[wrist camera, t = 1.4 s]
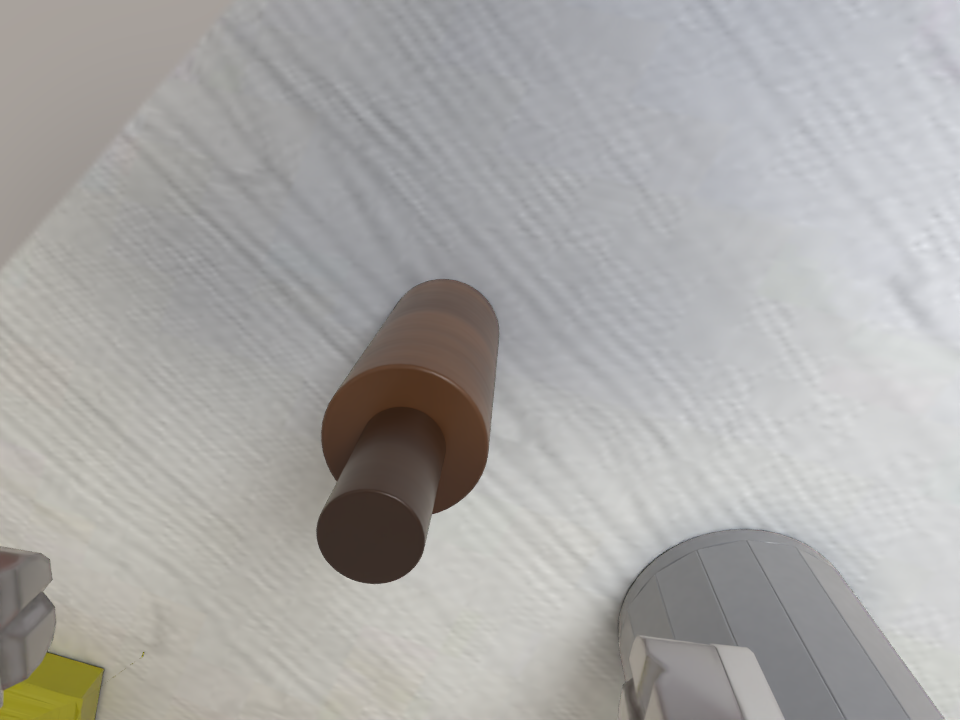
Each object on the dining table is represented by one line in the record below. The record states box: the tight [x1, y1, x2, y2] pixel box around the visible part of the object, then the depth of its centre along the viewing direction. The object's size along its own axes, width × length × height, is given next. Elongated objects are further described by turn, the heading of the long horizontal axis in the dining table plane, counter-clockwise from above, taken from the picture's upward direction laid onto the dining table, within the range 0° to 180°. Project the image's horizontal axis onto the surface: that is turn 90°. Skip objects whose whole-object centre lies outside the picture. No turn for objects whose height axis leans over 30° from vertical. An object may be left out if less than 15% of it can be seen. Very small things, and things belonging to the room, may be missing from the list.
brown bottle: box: [316, 279, 499, 584], centre depth 17 cm, size 4×4×12 cm
